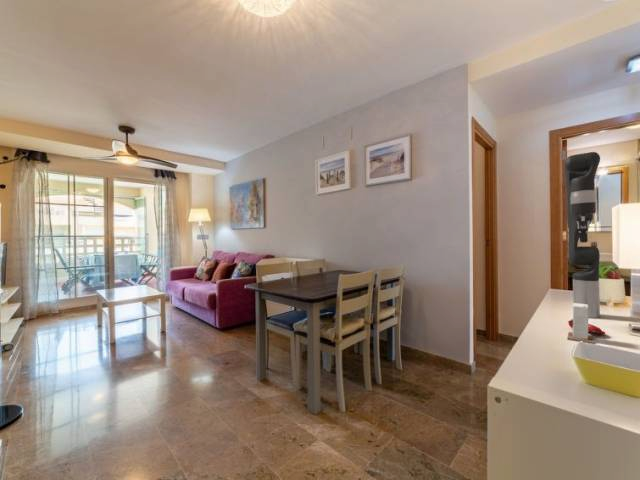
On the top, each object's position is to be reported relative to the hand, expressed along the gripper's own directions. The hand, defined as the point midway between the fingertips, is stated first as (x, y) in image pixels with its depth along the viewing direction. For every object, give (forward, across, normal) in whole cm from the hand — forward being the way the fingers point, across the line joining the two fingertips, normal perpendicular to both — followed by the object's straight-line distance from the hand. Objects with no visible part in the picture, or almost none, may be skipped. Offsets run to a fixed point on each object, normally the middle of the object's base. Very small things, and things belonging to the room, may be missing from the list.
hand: (583, 242), depth 115 cm
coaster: (+36, -14, +2) cm, 39 cm away
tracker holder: (+36, -3, 0) cm, 36 cm away
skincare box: (+36, -13, +1) cm, 38 cm away
